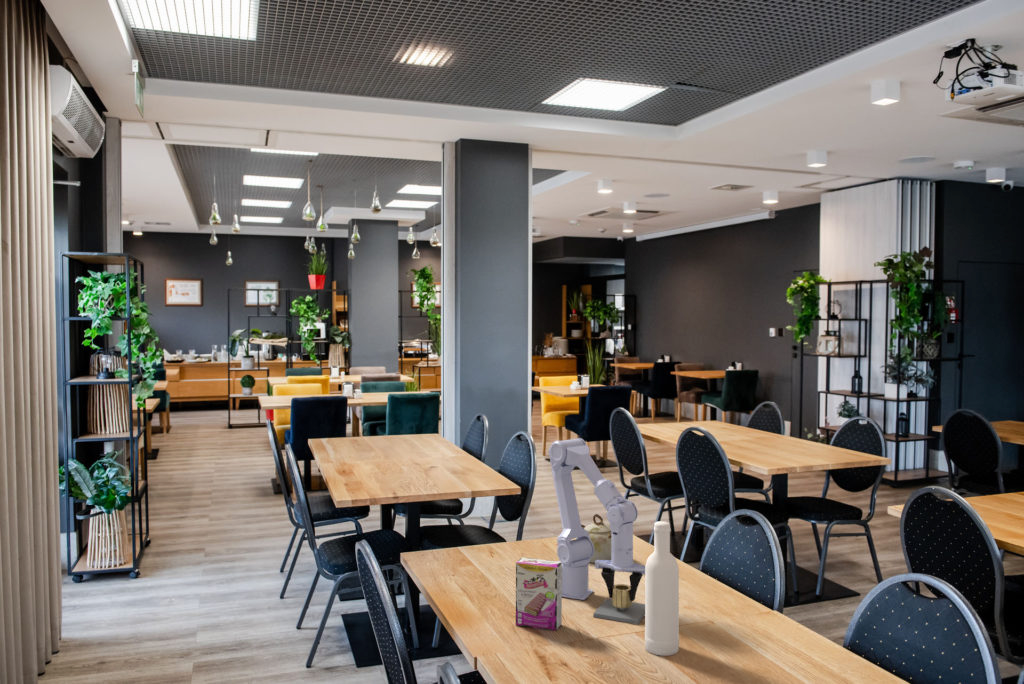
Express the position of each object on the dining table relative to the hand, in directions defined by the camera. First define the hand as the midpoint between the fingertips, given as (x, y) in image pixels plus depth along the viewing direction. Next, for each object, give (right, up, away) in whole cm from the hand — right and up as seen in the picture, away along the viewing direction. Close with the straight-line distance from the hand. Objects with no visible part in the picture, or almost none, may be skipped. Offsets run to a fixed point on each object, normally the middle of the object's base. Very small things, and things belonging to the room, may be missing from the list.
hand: (622, 598), depth 199 cm
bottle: (+6, -5, -23) cm, 24 cm away
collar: (0, -2, 0) cm, 2 cm away
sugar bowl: (-1, -3, +46) cm, 46 cm away
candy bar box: (-23, -4, -8) cm, 24 cm away
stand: (0, -4, 0) cm, 4 cm away
